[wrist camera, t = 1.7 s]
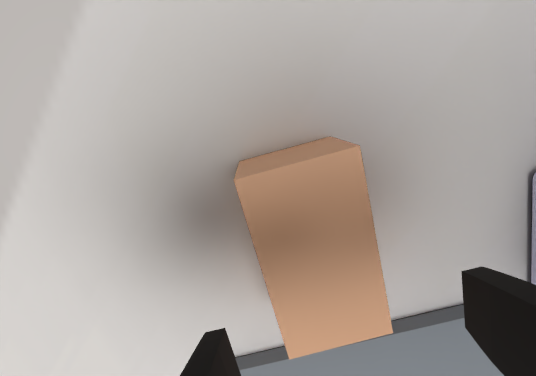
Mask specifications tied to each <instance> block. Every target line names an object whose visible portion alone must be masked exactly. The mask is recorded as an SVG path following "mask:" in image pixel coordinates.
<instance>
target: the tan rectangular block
mask: <svg viewBox="0 0 536 376" xmlns="http://www.w3.org/2000/svg"><path fill="white" fill-rule="evenodd" d="M234 183H235V186H236V189H237V193H238V196H239V199H240V202H241V205H242V209H243V212H244V215H245V218H246V222H247V225H248V228H249V231H250V235H251V238H252V241H253V244H254V247H255V251H256V254H257V257H258V260H259V264H260V267H261V270H262V273H263V276H264V280H265V283H266V286H267V289H268V293H269V296H270V299H271V302H272V305H273V309H274V312H275V315H276V318H277V322H278V325H279V328H280V331H281V334H282V338H283V341H284V344H285V347H286V351H287V354H288V357H289V360H290V359H294V358H298V357H301V356H305V355H309V354H313V353H317V352H321V351H325V350H329V349H333V348H337V347H341V346H344V345H348V344H352V343H356V342H360V341H364V340H368V339H372V338H376V337H380V336H383V335H387V334H391V333H393V330H392V324H391V318H390V313H389V307H388V301H387V296H386V290H385V285H384V279H383V273H382V268H381V262H380V256H379V251H378V245H377V240H376V234H375V228H374V223H373V217H372V211H371V206H370V200H369V195H368V189H367V183H366V178H365V172H364V167H363V161H362V155H361V150H360V146H359V145H356V144H353V143H350V142H347V141H343V140H340V139H337V138H334V137H331V136H330V137H326V138H323V139H319V140H315V141H312V142H308V143H304V144H301V145H297V146H293V147H290V148H286V149H282V150H279V151H275V152H271V153H268V154H264V155H260V156H257V157H253V158H250V159H246V160H242V161H239V164H238V167H237V171H236V174H235V177H234Z"/></svg>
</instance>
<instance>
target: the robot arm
mask: <svg viewBox="0 0 536 376" xmlns="http://www.w3.org/2000/svg"><path fill="white" fill-rule="evenodd" d="M462 285H463V302H464V318H465V328H466V329H467V331H468V332H469V333H470V335H471V336H472V337H473V339H474V340H475V341H476V343H477V344H478V345H479V347H480V348H481V349H482V351H483V352H484V353H485V354H486V356H487V357H488V358H489V359H490V361H491V362H492V363H493V364H494V365H495V366H496V367H497V368H498V370H499V371H500V372H501V373H502V374H503V375H504V376H536V173H535V174H534V176H533V195H532V263H531V283H529V282H527V281H524V280H521V279H518V278H515V277H512V276H510V275H507V274H504V273H501V272H498V271H495V270H492V269H489V268H485V267H478V268H474V269H470V270H466V271H462ZM180 376H241V374H240V371H239V368H238V365H237V362H236V359H235V356H234V353H233V350H232V347H231V344H230V341H229V339H228V336H227V333H226V330H225V328H223V329H218V330H214V331H210V332H206V333H205V334H204V335H203V337H202V339H201V340H200V342H199V344H198V345H197V347H196V349H195V351H194V352H193V354H192V356H191V358H190V359H189V361H188V363H187V364H186V366H185V368H184V370H183V371H182V373H181V375H180Z"/></svg>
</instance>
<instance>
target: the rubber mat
mask: <svg viewBox="0 0 536 376" xmlns="http://www.w3.org/2000/svg"><path fill="white" fill-rule="evenodd" d="M391 324H392V330H393V333H391V334H387V335H383V336H380V337H376V338H372V339H368V340H364V341H360V342H356V343H352V344H348V345H344V346H341V347H337V348H333V349H329V350H325V351H321V352H317V353H313V354H309V355H305V356H301V357H298V358H294V359H290V360H289V357H288V354H287V351H286V347H285V346H284V347H280V348H276V349H271V350H267V351H263V352H259V353H254V354H250V355H246V356H242V357H237V358H235V359H236V362H237V365H238V368H239V371H240V374H241V376H504V375H503V374H502V373H501V372H500V371H499V370H498V368H497V367H496V366H495V365H494V364H493V363H492V362H491V361H490V359H489V358H488V357H487V356H486V354H485V353H484V352H483V351H482V349H481V348H480V347H479V345H478V344H477V343H476V341H475V340H474V339H473V337H472V336H471V335H470V333H469V332H468V331H467V329H466V328H465V318H464V304H463V305H459V306H454V307H450V308H446V309H442V310H437V311H433V312H429V313H425V314H420V315H416V316H412V317H408V318H403V319H399V320H395V321H391Z"/></svg>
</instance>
